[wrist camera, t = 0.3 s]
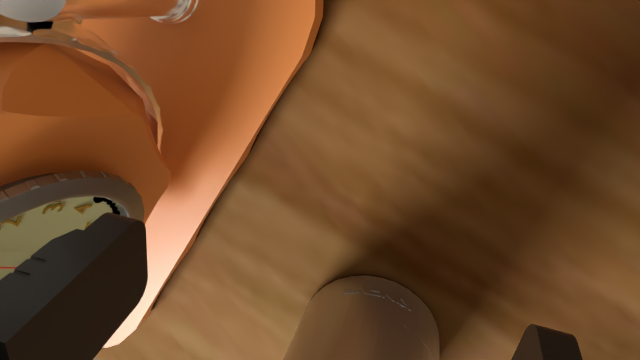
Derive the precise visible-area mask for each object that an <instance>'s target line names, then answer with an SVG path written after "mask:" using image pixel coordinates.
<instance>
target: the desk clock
mask: <svg viewBox="0 0 640 360" xmlns="http://www.w3.org/2000/svg"><path fill="white" fill-rule="evenodd" d="M322 18H323V0H0V280H1V279H2V278H4V277H5V276H6V275H7V274H9V273H13V272H14V269H15V268H16V267H18V266H19V265H20V264H21V263H23V262H24V261H25V260H26V259H30V258H31V255H33V254H34V253H35V252H36V251H38V250H39V249H40V248H41V247H43V246H44V245H45V244H47V243H48V242H49V241H50V240H52V239H54V238H57V237H59V236H61V235H64V234H66V233H68V232H70V231H73V230H75V229H80V230H84V229H85V228H87V227H88V226H89V225H90V224H91V223H93V222H94V221H95V220H96V219H97V218H99V217H100V216H101V215H103V214H104V213H107V212H110V213H114V214H118V215H122V216H125V217H129V218H133V219H137V220H140V221H142V222H143V223H144V224H145V227H146V242H147V266H148V281H147V286H146V289H145V292H144V294H143V297H142V298H141V300H140V302H139V303H138V305H137V306H136V307H135V309H134V310H133V311H132V312H131V313H130V315H129V316H128V317H127V318H126V320H125V321H124V322H123V323H122V324H121V326H120V327H119V328H118V329H117V330H116V332H115V333H114V334H113V335H112V337H111V338H110V339H109V340H108V341H107V343H106V344H105V345H104V346H103V347H105V348H107V347H110V346H113V345H117V344H119V343H120V342H122V341H123V340H124V339H125V338H126V337H127V336H129V335H130V334H131V333H132V332H133V331H134V330H136V329H137V327H138V326H139V325H140V324H141V323H142V322H143V321H144V320H145V319H146V318H147V317H148V316H149V315H150V311H151V308H152V306H153V304H154V302H155V300H156V298H157V297H158V295H159V293H160V292H161V290H162V288H163V287H164V285H165V284H166V282H167V281H168V279H169V278H170V276H171V275H172V273H173V272H174V270H175V269H176V267H177V266H178V264H179V263H180V262H181V260H182V259H183V257H184V256H185V255H186V253H187V252H188V251H189V249H190V248H191V247H192V245H193V243H194V242H195V240H196V236H197V234H198V232H199V229H200V228H201V226H202V224H203V222H204V220H205V218H206V217H207V215H208V213H209V212H210V210H211V208H212V207H213V205H214V204H215V202H216V200H217V199H218V197H219V196H220V194H221V193H222V191H223V190H224V188H225V187H226V185H227V184H228V182H229V181H230V180H231V178H232V177H233V175H234V174H235V173H236V171H237V170H238V168H239V167H240V166H241V164H242V163H243V162H244V160H245V159H246V157H247V156H248V154H249V152H250V149H251V147H252V145H253V143H254V141H255V138H256V137H257V135H258V133H259V131H260V129H261V127H262V126H263V124H264V122H265V120H266V119H267V117H268V115H269V114H270V112H271V110H272V109H273V107H274V105H275V104H276V102H277V101H278V99H279V98H280V96H281V94H282V93H283V91H284V90H285V88H286V87H287V85H288V84H289V82H290V81H291V80H292V78H293V77H294V75H295V74H296V72H297V71H298V70H299V68H300V67H301V65H302V64H303V63H304V62H305V60H306V59H307V58H308V56H309V55H310V53H311V50H312V47H313V44H314V41H315V39H316V36H317V33H318V30H319V27H320V24H321V21H322ZM73 20H83V21H82V23H81V25H79V24H77V23H75V22H73Z"/></svg>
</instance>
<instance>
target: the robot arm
mask: <svg viewBox="0 0 640 360" xmlns="http://www.w3.org/2000/svg"><path fill="white" fill-rule="evenodd" d="M147 281H148V266H147V242H146V227H145V224H144V223H143V222H142V221H140V220H137V219H133V218H129V217H125V216H122V215H118V214H114V213H110V212H107V213H104V214H103V215H101V216H100V217H99V218H97V219H96V220H95V221H94V222H93V223H91V224H90V225H89V226H88V227H87V228H85V229H84V230H80V229H75V230H73V231H70V232H68V233H66V234H64V235H61V236H59V237H57V238H54V239H52V240H50V241H49V242H48V243H47V244H45V245H44V246H43V247H41V248H40V249H39V250H38V251H36V252H35V253H34V254H33V255H31V258H30V259H26V260H25V261H24V262H23V263H21V264H20V265H19V266H18V267H16V268H15V269H14V272H13V273H9V274H7V275H6V276H5V277H4V278H2V279H1V280H0V360H93V358H94V357H95V356H96V355H97V354H98V352H99V351H100V350H101V349H102V347H103V346H104V345H105V344H106V343H107V341H108V340H109V339H110V338H111V337H112V335H113V334H114V333H115V332H116V330H117V329H118V328H119V327H120V326H121V324H122V323H123V322H124V321H125V320H126V318H127V317H128V316H129V315H130V313H131V312H132V311H133V310H134V309H135V307H136V306H137V305H138V303H139V302H140V300H141V298H142V297H143V294H144V292H145V289H146V286H147ZM283 360H440V342H439V332H438V328H437V324H436V321H435V319H434V317H433V315H432V313H431V311H430V310H429V309H428V307H427V306H426V305H425V304H424V303H423V301H422V300H421V299H420V298H419V297H417V296H416V295H415V294H414V293H413V292H411V291H410V290H409V289H407V288H405V287H403V286H401V285H400V284H398V283H396V282H393V281H390V280H387V279H384V278H381V277H374V276H366V275H364V276H350V277H346V278H342V279H338V280H336V281H334V282H332V283H330V284H328V285H326V286H324V287H323V288H322V289H321V290H320V291H318V292H317V293H316V294H315V295H314V297H313V298H312V299H311V301H310V302H309V304H308V306H307V308H306V310H305V313H304V315H303V317H302V319H301V322H300V324H299V326H298V328H297V331H296V333H295V335H294V337H293V339H292V341H291V343H290V346H289V348H288V350H287V352H286V355H285V357H284V359H283ZM512 360H582V356H581V353H580V350H579V346H578V343H577V340H576V338H575V337H574V336H573V335H572V334H568V333H564V332H561V331H557V330H553V329H549V328H546V327H542V326H538V325H534V324H531V325H529V326H528V327H527V329H526V330H525V332H524V334H523V336H522V339H521V341H520V343H519V345H518V347H517V349H516V351H515V353H514V355H513V357H512Z"/></svg>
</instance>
